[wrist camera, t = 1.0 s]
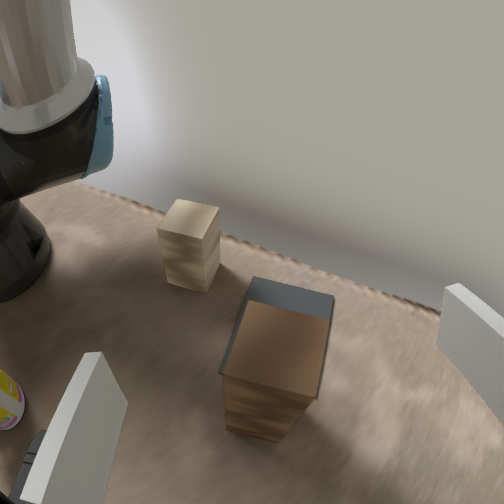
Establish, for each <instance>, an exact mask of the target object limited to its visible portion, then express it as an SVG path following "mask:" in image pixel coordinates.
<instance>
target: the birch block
mask: <svg viewBox="0 0 504 504" xmlns="http://www.w3.org/2000/svg"><path fill="white" fill-rule="evenodd" d="M219 213H220V212H219V207H214V206H210V205H205V204H200V203H195V202H190V201H186V200H181V199H177V200H176V201H175V203H174V204H173V205H172V207H171V208H170V210H169V211H168V212H167V214H166V215H165V217H164V218H163V219H162V221H161V222H160V224H159V225H158V227H157V233H158V238H159V243H160V248H161V253H162V258H163V262H164V267H165V272H166V276H167V280H168V283H170V284H174V285H177V286H181V287H184V288H188V289H191V290H195V291H198V292H202V293H205V294H207V292H208V289H209V287H210V285H211V283H212V280H213V278H214V276H215V274H216V272H217V269H218V267H219V265H220V214H219Z"/></svg>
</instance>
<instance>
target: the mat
mask: <svg viewBox="0 0 504 504" xmlns="http://www.w3.org/2000/svg"><path fill="white" fill-rule="evenodd" d="M333 297H334V296H333V295H329V294H324V293H320V292H316V291H312V290H308V289H304V288H300V287H296V286H292V285H288V284H283V283H279V282H275V281H271V280H267V279H263V278H259V277H255V276H253V278H252V281H251V284H250V287H249V289H248V292H247V295H246V298H245V301H244V303H243V306H242V309H241V312H240V314H239V317H238V320H237V323H236V326H235V328H234V331H233V334H232V337H231V339H230V342H229V345H228V348H227V350H226V353H225V356H224V359H223V361H222V364H221V367H220V370H219V373H221V374H223V372H224V369H225V366H226V363H227V360H228V358H229V355H230V352H231V349H232V346H233V344H234V341H235V338H236V335H237V332H238V329H239V327H240V324H241V321H242V318H243V315H244V312H245V309H246V307H247V304H248V301H249V300H251V301H255V302H259V303H263V304H267V305H271V306H275V307H279V308H283V309H287V310H291V311H295V312H299V313H303V314H307V315H311V316H315V317H320V318H324V319H328V320H330V317H331V310H332V303H333ZM329 323H330V321H329ZM328 329H329V327H328ZM327 335H328V333H327ZM326 341H327V339H326ZM325 347H326V345H325ZM324 353H325V350H324ZM323 358H324V356H323ZM322 364H323V361H322ZM321 369H322V367H321ZM320 374H321V372H320ZM319 379H320V377H319ZM318 384H319V382H318ZM317 389H318V387H317ZM316 394H317V392H316Z"/></svg>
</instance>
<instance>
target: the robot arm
mask: <svg viewBox="0 0 504 504" xmlns="http://www.w3.org/2000/svg"><path fill="white" fill-rule="evenodd" d="M112 156H113V123H112V104H111V94H110V88H109V82H108V79H107V77H106V76H104V75H96V74H94V70H93V68H92V66H91V65H90V64H89V63H88V62H87V61H85V60H84V59H81V58H79V57H77V54H76V47H75V40H74V33H73V25H72V17H71V7H70V0H0V302H3V301H6V300H9V299H11V298H13V297H15V296H17V295H19V294H20V293H22V292H23V291H25V290H26V289H27V288H28V287H29V286H30V285H31V284H32V283H33V282H34V281H35V280H36V279H37V278H38V277H39V275H40V274H41V272H42V271H43V269H44V268H45V266H46V264H47V261H48V259H49V255H50V251H51V243H50V239H49V237H48V234H47V232H46V230H45V228H44V226H43V225H42V223H41V222H40V221H39V220H38V219H37V218H36V217H35V216H34V215H33V214H32V213H31V212H30V211H29V210H28V209H27V208H26V207H25V206H24V205H23V204H22V203H21V202H20V199H19V198H22V197H24V196H27V195H30V194H33V193H36V192H39V191H42V190H45V189H48V188H51V187H54V186H58V185H61V184H64V183H67V182H71V181H74V180H77V179H83V178H85V177H87V176H88V175H90V174H92V173H95V172H98V171H101V170H103V169H105V168H106V167H108V165H109V164H110V162H111V160H112ZM436 344H437V345H438V346H439V347H440V348H441V350H442V351H443V352H444V353H445V354H446V355H447V356H448V358H449V359H450V360H451V361H452V362H453V364H454V365H455V366H456V367H457V368H458V369H459V371H460V372H461V373H462V374H463V375H464V377H465V378H466V379H467V380H468V381H469V383H470V384H471V385H472V386H473V388H474V389H475V390H476V391H477V393H478V394H479V395H480V396H481V398H482V399H483V400H484V401H485V403H486V404H487V405H488V406H489V408H490V409H491V410H492V411H493V413H494V414H495V415H496V417H497V418H498V419H499V421H500V422H501V423H502V425H503V426H504V318H503V317H501V316H500V315H499V314H498V313H496V312H495V311H494V310H493V309H492V308H490V307H489V306H488V305H487V304H485V303H484V302H483V301H482V300H480V299H479V298H478V297H477V296H475V295H474V294H473V293H472V292H470V291H469V290H468V289H466V288H465V287H464V286H463V285H461V284H460V283H456V284H453V285H450V286H446V287H445V288H444V296H443V304H442V311H441V317H440V323H439V329H438V335H437V340H436ZM127 406H128V402H127V400H126V398H125V396H124V394H123V393H122V391H121V389H120V387H119V385H118V383H117V381H116V379H115V377H114V375H113V373H112V371H111V369H110V367H109V365H108V363H107V361H106V359H105V357H104V355H103V353H102V352H90V353H85V354H84V356H83V358H82V360H81V361H80V363H79V365H78V367H77V369H76V371H75V373H74V375H73V377H72V379H71V381H70V383H69V385H68V387H67V389H66V391H65V393H64V395H63V397H62V399H61V401H60V403H59V406H58V408H57V410H56V412H55V414H54V416H53V418H52V421H51V423H50V425H49V427H48V430H41V431H40V432H39V433H38V434H37V435H36V437H35V438H34V439H33V440H32V442H31V444H30V446H29V449H28V451H27V453H28V454H26V455H25V458H24V460H23V462H24V463H23V464H22V465H21V467H20V470H19V472H18V475H17V477H16V479H15V482H14V485H13V487H12V490H11V492H10V495H9V497H8V498H7V497H6V496H5V495H4V494H3V493H2V492H1V491H0V504H103V503H104V498H105V494H106V489H107V485H108V480H109V476H110V472H111V467H112V463H113V459H114V455H115V451H116V447H117V443H118V439H119V435H120V431H121V428H122V424H123V420H124V416H125V413H126V409H127Z"/></svg>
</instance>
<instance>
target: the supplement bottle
mask: <svg viewBox="0 0 504 504" xmlns="http://www.w3.org/2000/svg"><path fill="white" fill-rule="evenodd" d="M24 406H25V400H24V395H23V391H22V389H21V387H20V386H19V384H18V383H17V382H16V381H15V380H14V379H13V378H12V377H10V376H9V375H8V374H6V373H5V372H4V371H3V370H2V369H0V430H7V429H11V428H13V427H14V426H15V425H17V423H18V422H19V421H20V419H21V417H22V415H23V412H24Z"/></svg>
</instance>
